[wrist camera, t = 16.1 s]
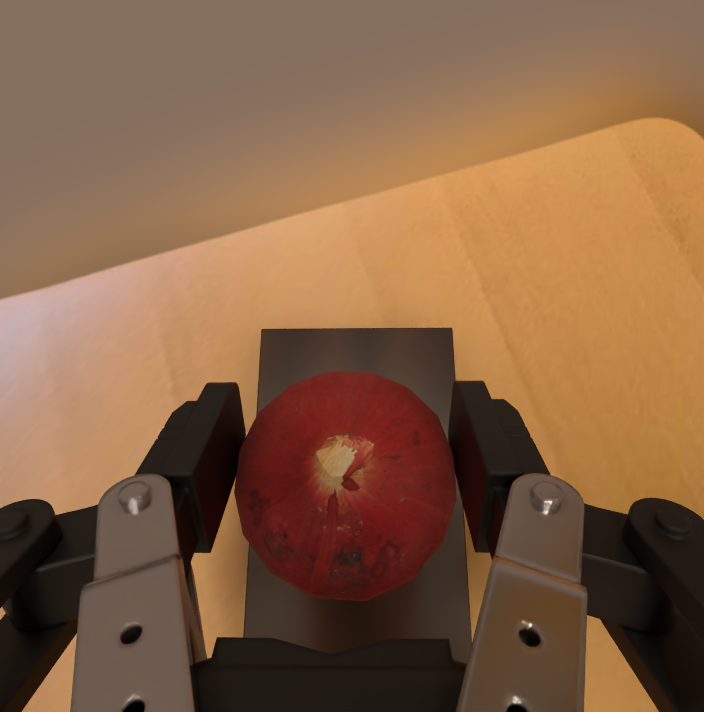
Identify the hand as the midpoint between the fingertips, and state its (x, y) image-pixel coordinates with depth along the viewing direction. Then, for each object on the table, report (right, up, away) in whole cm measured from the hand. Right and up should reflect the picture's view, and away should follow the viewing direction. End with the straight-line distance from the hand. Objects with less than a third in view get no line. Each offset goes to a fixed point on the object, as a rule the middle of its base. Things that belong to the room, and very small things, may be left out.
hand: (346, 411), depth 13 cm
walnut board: (0, -7, +16) cm, 17 cm away
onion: (0, -3, +4) cm, 5 cm away
